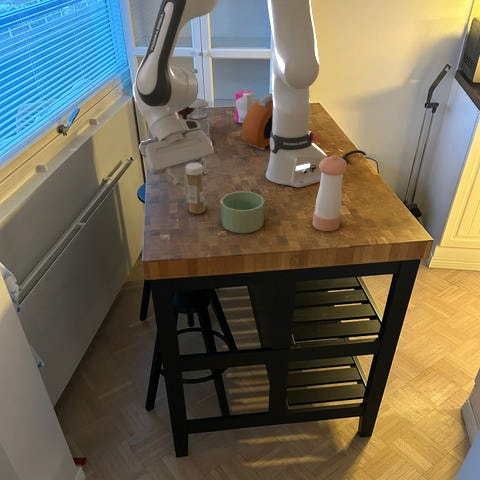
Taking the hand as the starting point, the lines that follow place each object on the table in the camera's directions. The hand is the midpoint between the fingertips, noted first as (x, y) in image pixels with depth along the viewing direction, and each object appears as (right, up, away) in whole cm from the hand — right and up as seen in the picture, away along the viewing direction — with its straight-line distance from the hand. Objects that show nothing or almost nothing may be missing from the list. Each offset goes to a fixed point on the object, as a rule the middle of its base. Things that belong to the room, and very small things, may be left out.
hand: (192, 179), depth 131 cm
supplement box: (+15, +42, +64) cm, 78 cm away
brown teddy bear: (-9, +40, +61) cm, 74 cm away
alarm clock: (+25, +28, +46) cm, 60 cm away
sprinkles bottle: (+1, -8, +5) cm, 9 cm away
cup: (+14, -12, 0) cm, 18 cm away
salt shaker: (+37, -13, -2) cm, 39 cm away
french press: (-1, +28, +47) cm, 55 cm away
